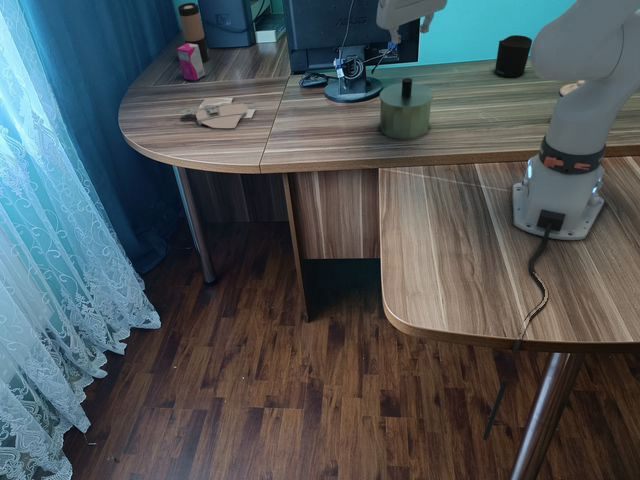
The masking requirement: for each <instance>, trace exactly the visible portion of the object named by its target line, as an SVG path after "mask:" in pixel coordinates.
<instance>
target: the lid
mask: <svg viewBox="0 0 640 480" xmlns="http://www.w3.org/2000/svg"><path fill="white" fill-rule="evenodd" d="M434 95H435V94H434V91H433V89H431V88H430V87H429V86H427V85H424V84H420V83H413V79H412V78H410V77H405V78H403V79H402V80H401V82H400V83H396V84H391V85H388V86H387V87H385V88H383V89H382V90H381V91H380V93H379V100H380V103H381V102H382V103H384V104H385V105H388V106H390V107H394V108H402V109H408V108H417V107H421V106H424V105H426V104H428V103H429V102H431V103H432V101H433V99H434Z"/></svg>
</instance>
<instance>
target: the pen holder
mask: <svg viewBox="0 0 640 480" xmlns="http://www.w3.org/2000/svg"><path fill="white" fill-rule="evenodd" d="M532 43H533V40H532V39H531V38H530V37H528V36H525V35H519V34H518V35H517V34H516V35H515V34H514V35H510V36H507V37H505V38H504V39H502V40H499V41H498V48H497V54H496V60H495V68H494V69H495V70H494V73H495V74H496V76H498V77H501V78H505V79H514V78H519V77H521V76H522V75H523V74H524V72H525V69H526V66H527V63H528V58H529V56H530V50H531V46H532Z"/></svg>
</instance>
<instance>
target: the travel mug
mask: <svg viewBox="0 0 640 480" xmlns="http://www.w3.org/2000/svg"><path fill="white" fill-rule="evenodd" d="M177 9H178V15H179V19H180V23H181V24H180V25H181V28H182V34H183V37H184V43H185V44H187V43H189V44H196V45H198V47H199V51H200V55H201V60H202V64H204V63H206V62H208V60H209V54H208V47H207V43H206V37H205V32H204V27H203V23H202V18H201V13H200V8H199V4H196V3H195V2H186V3H182V4H180V5H178V6H177Z"/></svg>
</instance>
